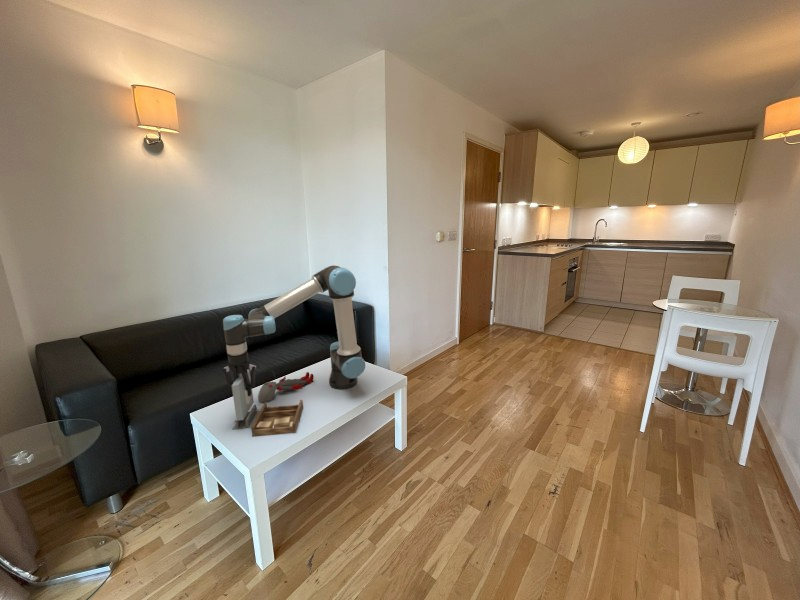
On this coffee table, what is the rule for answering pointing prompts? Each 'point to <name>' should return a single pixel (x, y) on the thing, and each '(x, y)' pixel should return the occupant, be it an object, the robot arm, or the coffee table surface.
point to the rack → (277, 413)
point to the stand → (247, 419)
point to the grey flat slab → (241, 397)
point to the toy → (282, 386)
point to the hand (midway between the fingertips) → (244, 402)
